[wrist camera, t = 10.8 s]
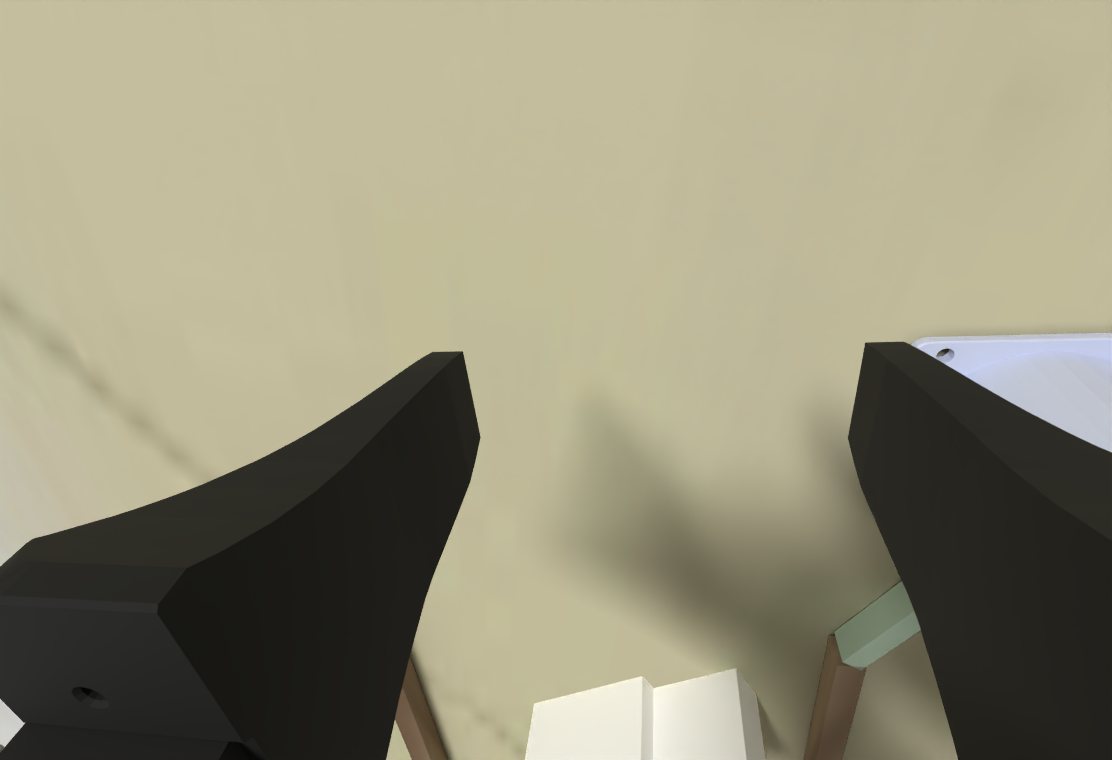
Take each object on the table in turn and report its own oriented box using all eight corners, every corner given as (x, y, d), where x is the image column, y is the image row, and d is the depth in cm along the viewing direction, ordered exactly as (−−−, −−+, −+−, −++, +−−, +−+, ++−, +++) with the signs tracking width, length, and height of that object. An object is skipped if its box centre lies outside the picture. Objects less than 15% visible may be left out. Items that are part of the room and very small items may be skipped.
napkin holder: (510, 725, 37) (489, 835, 32) (519, 604, 31) (494, 718, 26) (764, 771, 36) (781, 891, 31) (826, 655, 30) (858, 783, 25)
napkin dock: (933, 574, 26) (958, 627, 23) (847, 845, 38) (858, 894, 36) (304, 551, 30) (278, 594, 28) (415, 800, 43) (402, 841, 41)
